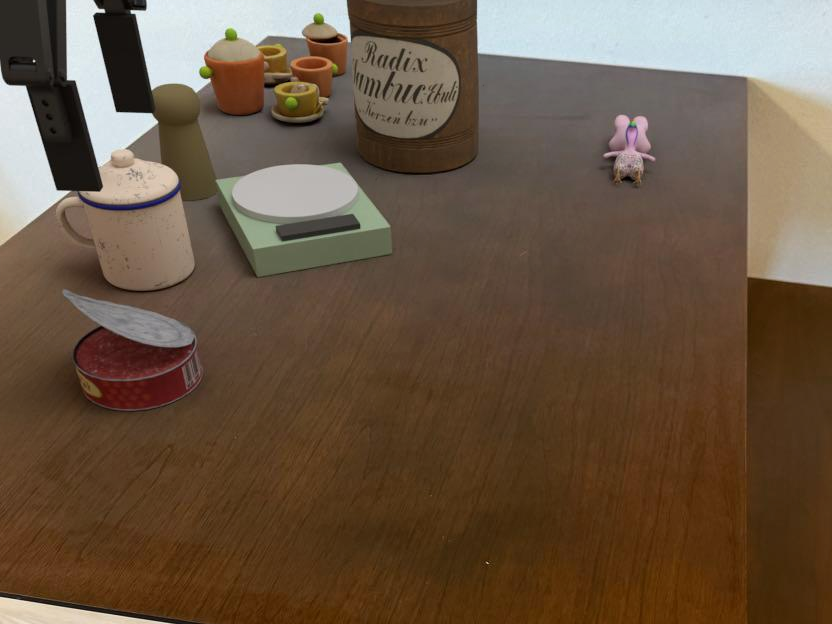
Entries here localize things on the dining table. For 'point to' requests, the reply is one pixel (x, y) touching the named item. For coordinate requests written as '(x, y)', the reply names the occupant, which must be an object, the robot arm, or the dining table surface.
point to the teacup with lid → (135, 224)
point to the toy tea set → (276, 73)
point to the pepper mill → (183, 140)
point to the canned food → (134, 356)
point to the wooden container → (415, 82)
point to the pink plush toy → (629, 147)
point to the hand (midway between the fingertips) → (110, 147)
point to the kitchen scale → (302, 218)
